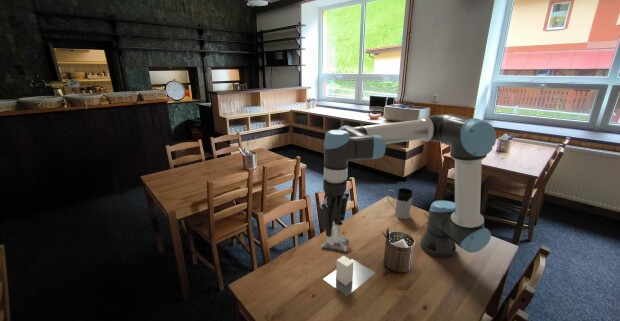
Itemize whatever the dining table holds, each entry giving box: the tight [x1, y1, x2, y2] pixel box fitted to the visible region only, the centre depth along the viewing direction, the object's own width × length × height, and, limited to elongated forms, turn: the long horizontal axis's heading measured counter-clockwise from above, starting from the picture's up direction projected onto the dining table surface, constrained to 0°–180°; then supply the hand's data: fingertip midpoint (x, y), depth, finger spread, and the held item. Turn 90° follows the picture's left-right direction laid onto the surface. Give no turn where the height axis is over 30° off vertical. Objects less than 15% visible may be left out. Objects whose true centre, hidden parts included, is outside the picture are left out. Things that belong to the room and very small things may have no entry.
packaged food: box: [320, 235, 350, 252], centre depth 132 cm, size 9×12×5 cm
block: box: [335, 255, 354, 286], centre depth 110 cm, size 4×5×9 cm
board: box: [323, 258, 376, 297], centre depth 114 cm, size 18×12×1 cm, turn 134°
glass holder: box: [386, 187, 413, 220], centre depth 162 cm, size 9×14×15 cm, turn 59°
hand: (332, 241), depth 99 cm, fingers open, 2 cm apart
